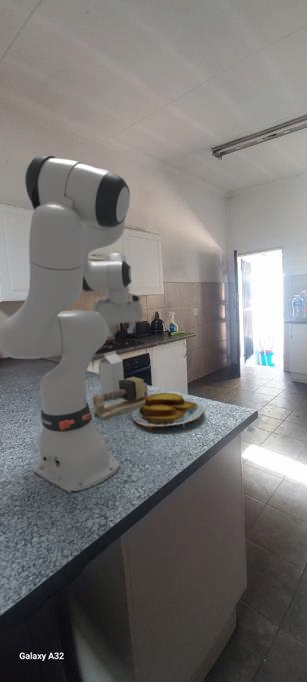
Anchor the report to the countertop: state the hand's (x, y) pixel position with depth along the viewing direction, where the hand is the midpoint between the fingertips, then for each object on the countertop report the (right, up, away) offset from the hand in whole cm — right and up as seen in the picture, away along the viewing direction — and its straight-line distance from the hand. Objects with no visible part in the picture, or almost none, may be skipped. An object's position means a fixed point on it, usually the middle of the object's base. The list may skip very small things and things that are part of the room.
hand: (120, 334), depth 113 cm
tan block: (+6, -24, +3) cm, 25 cm away
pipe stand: (+1, -28, -1) cm, 28 cm away
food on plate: (+18, -29, -11) cm, 36 cm away
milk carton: (-5, -26, +14) cm, 30 cm away
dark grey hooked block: (+3, -25, +1) cm, 25 cm away
